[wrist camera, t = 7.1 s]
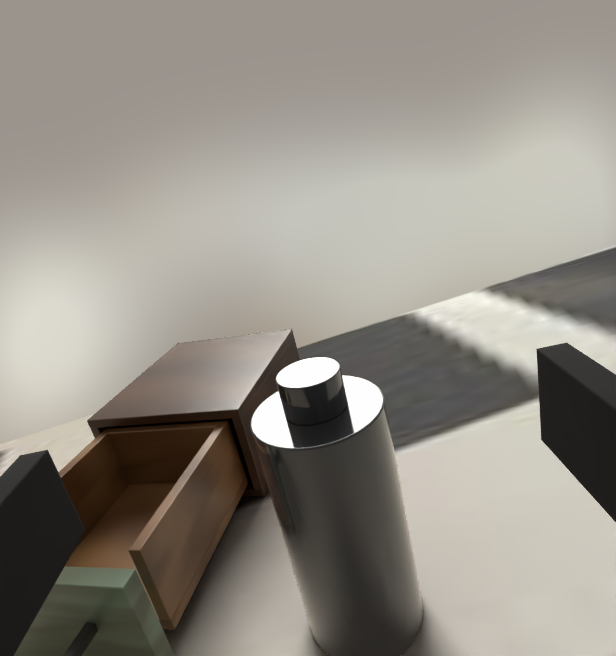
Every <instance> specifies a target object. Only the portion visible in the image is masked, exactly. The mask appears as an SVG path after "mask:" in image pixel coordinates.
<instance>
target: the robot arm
mask: <svg viewBox="0 0 616 656" xmlns="http://www.w3.org/2000/svg"><path fill="white" fill-rule="evenodd" d="M537 364H538V383H539V402H540V421H541V440H542V441H543V442H544V443H545V444H546V445H547V446H548V447H549V449H550V450H551V451H552V452H553V453H554V454H555V455H556V456H557V457H558V459H559V460H560V461H561V462H562V463H563V464H564V465H565V466H566V467H567V469H568V470H569V471H570V472H571V473H572V474H573V475H574V476H575V477H576V479H577V480H578V481H579V482H580V483H581V484H582V485H583V486H584V487H585V489H586V490H587V491H588V492H589V493H590V494H591V495H592V496H593V497H594V499H595V500H596V501H597V502H598V503H599V504H600V505H601V506H602V507H603V509H604V510H605V511H606V512H607V513H608V514H609V515H610V516H611V517H612V519H613V520H614V521H615V522H616V375H615V374H614V373H612V372H611V371H609V370H608V369H606V368H605V367H603V366H601V365H600V364H598V363H597V362H595V361H594V360H592V359H591V358H589V357H588V356H586V355H585V354H583V353H582V352H580V351H579V350H577V349H575V348H574V347H572V346H571V345H569V344H568V343H563V344H558V345H553V346H549V347H544V348H539V349H537ZM84 532H85V528H84V526H83V523H82V521H81V519H80V517H79V515H78V513H77V511H76V509H75V507H74V504H73V502H72V500H71V498H70V496H69V494H68V492H67V490H66V488H65V486H64V483H63V481H62V479H61V477H60V475H59V473H58V471H57V469H56V467H55V465H54V462H53V460H52V458H51V456H50V454H49V452H48V450H45V451H40V452H35V453H30V454H25V455H20V456H19V458H18V459H17V460H16V461H15V462H14V463H13V464H12V465H11V466H10V467H9V468H8V469H7V470H6V471H5V472H4V473H3V475H2V476H1V477H0V656H14V654H15V653H16V651H17V649H18V647H19V646H20V644H21V642H22V640H23V639H24V637H25V635H26V633H27V632H28V630H29V628H30V626H31V624H32V623H33V621H34V619H35V617H36V616H37V614H38V612H39V610H40V609H41V607H42V605H43V603H44V602H45V600H46V598H47V596H48V595H49V593H50V591H51V589H52V588H53V586H54V584H55V582H56V581H57V579H58V577H59V575H60V574H61V572H62V570H63V568H64V567H65V565H66V563H67V561H68V560H69V558H70V556H71V554H72V553H73V551H74V549H75V547H76V546H77V544H78V542H79V540H80V539H81V537H82V535H83V533H84Z"/></svg>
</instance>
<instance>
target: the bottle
mask: <svg viewBox="0 0 616 656" xmlns="http://www.w3.org/2000/svg"><path fill="white" fill-rule="evenodd" d="M276 384H277V388H278V392H276V393H274V394H273V395H271V396H270V397H268V398H267V399H266V400H265V401H264V402H262V403H261V404H260V405H259V407H258V408H257V409H256V410H255V412H254V414H253V416H252V418H251V422H250V429H251V433H252V437H253V440H254V443H255V447H256V450H257V453H258V456H259V460H260V463H261V466H262V470H263V473H264V476H265V480H266V483H267V486H268V489H269V493H270V496H271V499H272V503H273V506H274V509H275V513H276V516H277V519H278V522H279V526H280V529H281V532H282V536H283V539H284V542H285V546H286V549H287V552H288V555H289V559H290V562H291V565H292V569H293V572H294V575H295V579H296V582H297V585H298V588H299V592H300V595H301V598H302V602H303V605H304V608H305V612H306V615H307V618H308V621H309V625H310V628H311V631H312V634H313V636H314V639H315V640H316V642H317V644H318V645H319V646H320V647H321V649H322V650H323V651H324V652H325V653H326V654H328V655H329V656H399V655H400V654H402V653H403V652H404V651H405V650H406V649H407V648H408V647H409V646H410V645H411V643H412V642H413V641H414V639H415V637H416V635H417V634H418V631H419V629H420V626H421V622H422V617H423V605H422V599H421V593H420V588H419V582H418V577H417V572H416V566H415V561H414V555H413V550H412V544H411V539H410V534H409V528H408V523H407V517H406V512H405V506H404V501H403V496H402V490H401V485H400V479H399V474H398V468H397V463H396V458H395V452H394V447H393V441H392V436H391V430H390V425H389V420H388V414H387V409H386V403H385V398H384V395H383V393H382V391H381V390H380V388H379V387H378V386H376V385H375V384H374V383H372V382H370V381H368V380H366V379H363V378H359V377H354V376H344V375H342V372H341V367H340V364H339V363H338V362H337V361H336V360H334V359H331V358H324V357H318V358H309V359H305V360H301V361H298V362H295V363H293V364H290V365H288V366H287V367H285V368H284V369H282V370H281V371H280V372H279V373H278V374H277V376H276Z"/></svg>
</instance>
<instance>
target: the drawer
mask: <svg viewBox="0 0 616 656" xmlns="http://www.w3.org/2000/svg"><path fill="white" fill-rule="evenodd" d="M59 475H60V477H61V479H62V481H63V483H64V486H65V488H66V490H67V492H68V494H69V496H70V498H71V500H72V502H73V504H74V507H75V509H76V511H77V513H78V515H79V517H80V519H81V521H82V523H83V526H84V528H85V532H84V533H83V535H82V537H81V539H80V540H79V542H78V544H77V546H76V547H75V549H74V551H73V553H72V554H71V556H70V558H69V560H68V561H67V563H66V565H65V567H64V568H63V570H62V572H61V574H60V575H59V577H58V579H57V581H56V582H55V584H54V586H53V588H52V589H51V591H50V593H49V595H48V596H47V598H46V600H45V602H44V603H43V605H42V607H41V609H40V610H39V612H38V614H37V616H36V617H35V619H34V621H33V623H32V624H31V626H30V628H29V630H28V632H27V633H26V635H25V637H24V639H23V640H22V642H21V644H20V646H19V647H18V649H17V651H16V653H15V654H14V656H175V655H174V653H173V650H172V648H171V646H170V644H169V642H168V639H167V637H166V635H165V633H164V631H163V629H170V630H175V628H176V626H177V624H178V622H179V620H180V618H181V616H182V614H183V612H184V610H185V608H186V606H187V604H188V602H189V600H190V598H191V596H192V594H193V592H194V590H195V588H196V586H197V584H198V582H199V580H200V578H201V576H202V574H203V572H204V570H205V568H206V566H207V564H208V562H209V560H210V558H211V556H212V554H213V553H214V551H215V549H216V547H217V545H218V543H219V541H220V539H221V537H222V535H223V533H224V531H225V529H226V527H227V525H228V523H229V521H230V519H231V517H232V515H233V513H234V511H235V509H236V507H237V505H238V503H239V501H240V499H241V497H242V495H243V493H244V491H245V489H246V487H247V485H248V481H247V478H246V475H245V472H244V468H243V465H242V462H241V459H240V456H239V453H238V450H237V447H236V443H235V440H234V437H233V434H232V431H231V428H230V425H229V422H228V421H215V422H200V423H186V424H171V425H156V426H141V427H126V428H109V429H105V430H104V431H103V432H102V433H101V434H99V435H98V436H97V437H96V438H95V439H94V440H93V441H92V442H91V443H90V444H89V445H88V446H87V447H85V448H84V449H83V450H82V451H81V452H80V453H79V454H78V455H77V456H76V457H75V458H74V459H73V460H72V461H70V462H69V463H68V464H67V465H66V466H65V467H64V468H63V469H62V470H61V471H60V472H59Z"/></svg>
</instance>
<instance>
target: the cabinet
mask: <svg viewBox="0 0 616 656" xmlns="http://www.w3.org/2000/svg"><path fill="white" fill-rule="evenodd" d="M298 361H300V359H299V355H298V351H297V347H296V343H295V339H294V336H293V331H292V329H289V330H280V331H272V332H265V333H256V334H248V335H241V336H232V337H224V338H216V339H208V340H201V341H192V342H184V343H177V344H176V345H175V346H174V347H173V348H171V349H170V350H169V351H168V352H167V353H166V354H165V355H163V356H162V357H161V358H160V359H159V360H157V361H156V362H155V363H154V364H153V365H152V366H150V367H149V368H148V369H147V370H146V371H145V372H144V373H142V374H141V375H140V376H139V377H138V378H136V380H134V381H133V382H132V383H131V384H129V385H128V386H127V387H126V388H125V389H123V390H122V391H121V392H120V393H119V394H118V395H116V396H115V397H114V398H113V399H112V400H111V401H109V402H108V403H107V404H106V405H105V406H104V407H103V408H101V409H100V410H99V411H98V412H97V413H95V414H94V415H93V416H92V417H91V418H90V419H88V420H87V422H88V424H89V426H90V428H91V430H92V433H93V435H94V437H95V438H96V437H97V436H98V435H99V434H101V433H102V432H103V431H104V430H105V429H109V428H126V427H141V426H156V425H171V424H186V423H200V422H215V421H228V422H229V425H230V428H231V431H232V434H233V437H234V440H235V443H236V447H237V450H238V453H239V456H240V459H241V462H242V465H243V468H244V472H245V475H246V478H247V481H248V485H247V487H246V489H245V491H244V493H243V495H242V497H257V496H265V495H266V493H267V490H268V486H267V483H266V480H265V476H264V473H263V470H262V466H261V463H260V460H259V456H258V453H257V450H256V447H255V443H254V440H253V437H252V433H251V429H250V422H251V418H252V416H253V414H254V412H255V410H256V409H257V408H258V407H259V405H260V404H261V403H262V402H264V401H265V400H266V399H267V398H268V397H270V396H271V395H273V394H274V393H276V392H278V388H277V384H276V376H277V374H278V373H279V372H280V371H281V370H282V369H284V368H285V367H287V366H288V365H290V364H293V363H295V362H298Z"/></svg>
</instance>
